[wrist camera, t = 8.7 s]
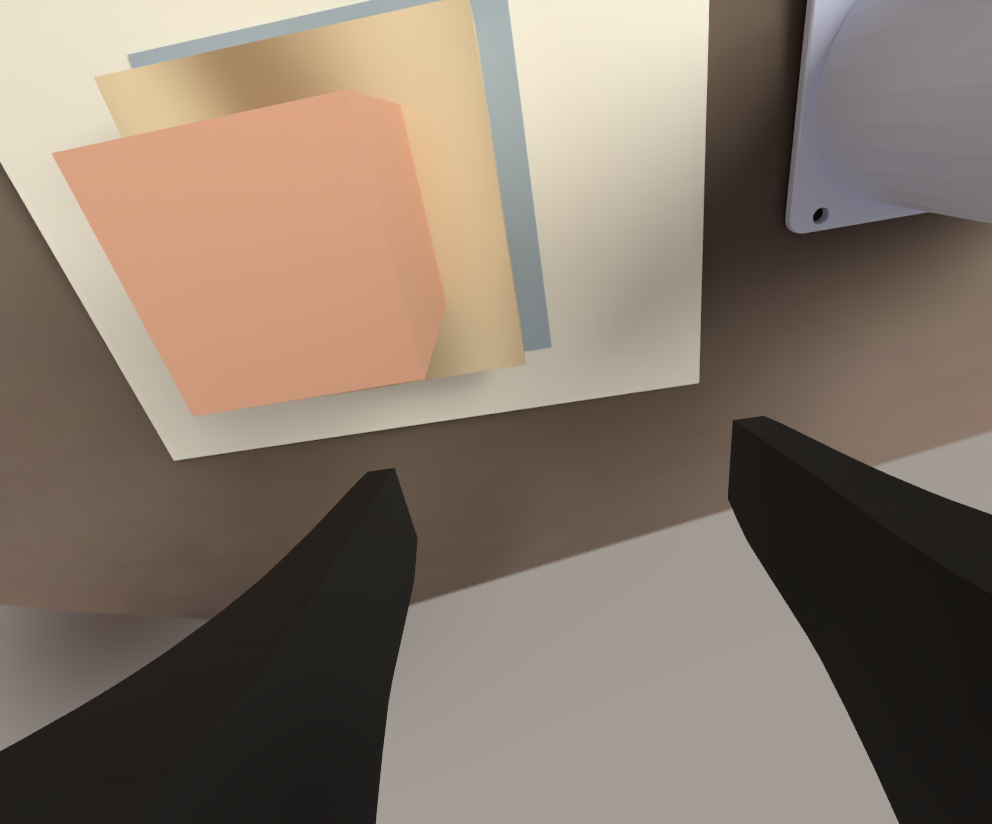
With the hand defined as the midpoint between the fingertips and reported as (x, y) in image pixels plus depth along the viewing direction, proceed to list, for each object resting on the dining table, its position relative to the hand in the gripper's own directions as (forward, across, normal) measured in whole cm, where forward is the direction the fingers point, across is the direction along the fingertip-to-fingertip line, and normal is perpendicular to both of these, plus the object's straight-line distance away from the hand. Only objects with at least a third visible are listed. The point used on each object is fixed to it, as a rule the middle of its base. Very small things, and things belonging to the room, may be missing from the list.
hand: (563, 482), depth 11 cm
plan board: (+10, +5, -5) cm, 12 cm away
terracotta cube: (+5, +5, -5) cm, 9 cm away
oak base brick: (+9, +5, -5) cm, 11 cm away
